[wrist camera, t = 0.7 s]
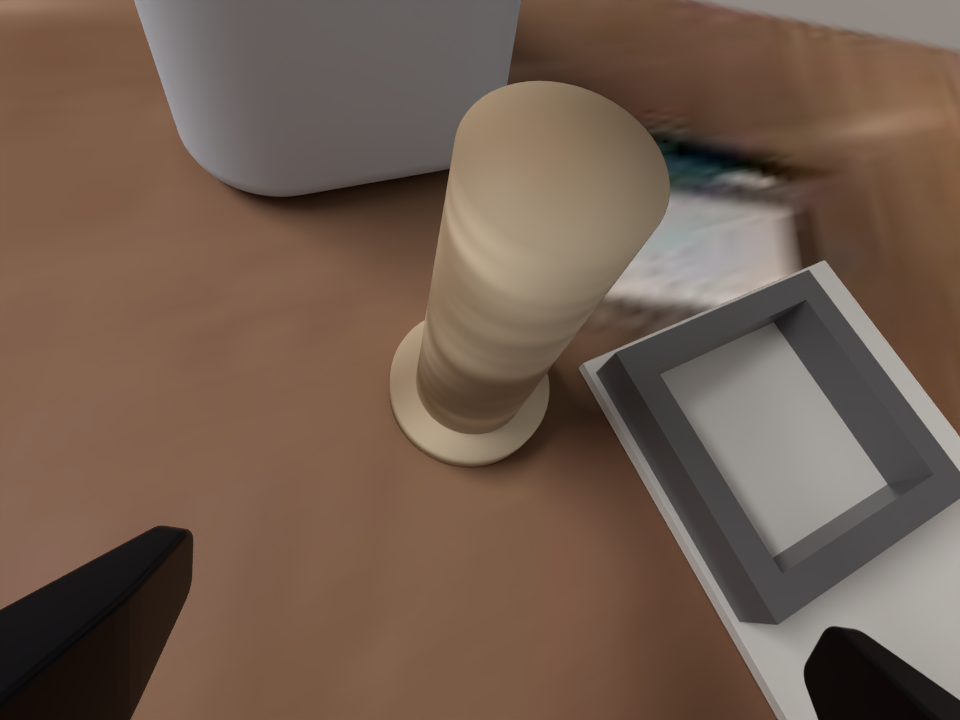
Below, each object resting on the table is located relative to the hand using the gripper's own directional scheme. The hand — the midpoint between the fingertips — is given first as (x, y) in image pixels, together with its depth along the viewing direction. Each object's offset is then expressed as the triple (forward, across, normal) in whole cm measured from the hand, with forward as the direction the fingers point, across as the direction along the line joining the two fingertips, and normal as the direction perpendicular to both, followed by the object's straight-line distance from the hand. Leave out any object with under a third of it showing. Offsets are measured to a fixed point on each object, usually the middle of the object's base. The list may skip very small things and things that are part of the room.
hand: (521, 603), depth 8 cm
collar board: (+14, -16, +5) cm, 22 cm away
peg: (+15, 0, +4) cm, 16 cm away
